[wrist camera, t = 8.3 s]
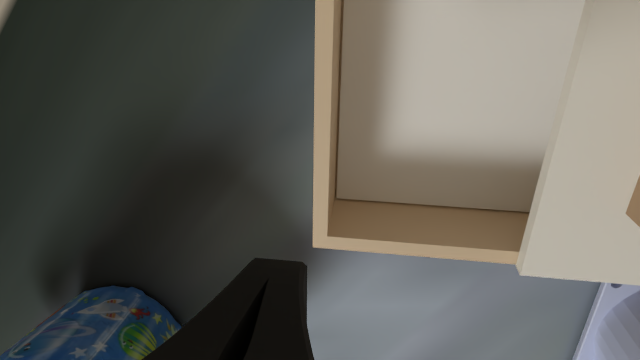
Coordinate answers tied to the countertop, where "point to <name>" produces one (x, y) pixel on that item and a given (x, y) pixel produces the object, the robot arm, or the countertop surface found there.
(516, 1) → the mailer box
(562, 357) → the countertop surface
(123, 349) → the snack cup
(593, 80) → the mailer lid
